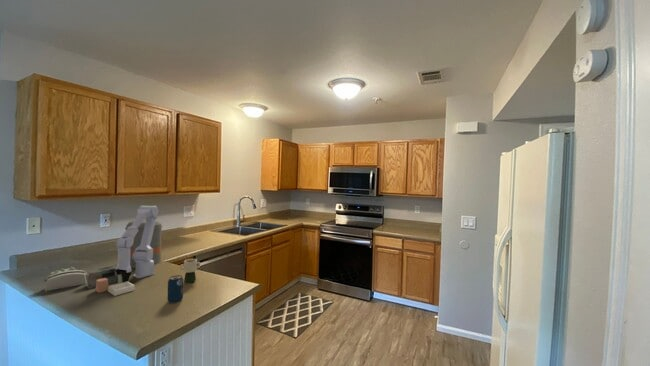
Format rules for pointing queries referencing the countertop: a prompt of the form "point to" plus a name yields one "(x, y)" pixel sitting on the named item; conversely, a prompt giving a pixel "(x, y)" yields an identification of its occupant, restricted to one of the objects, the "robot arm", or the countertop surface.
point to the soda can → (175, 289)
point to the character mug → (190, 269)
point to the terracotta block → (102, 285)
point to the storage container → (154, 243)
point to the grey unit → (102, 275)
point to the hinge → (65, 279)
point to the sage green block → (120, 279)
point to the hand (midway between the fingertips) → (123, 282)
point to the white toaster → (65, 270)
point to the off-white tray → (121, 288)
